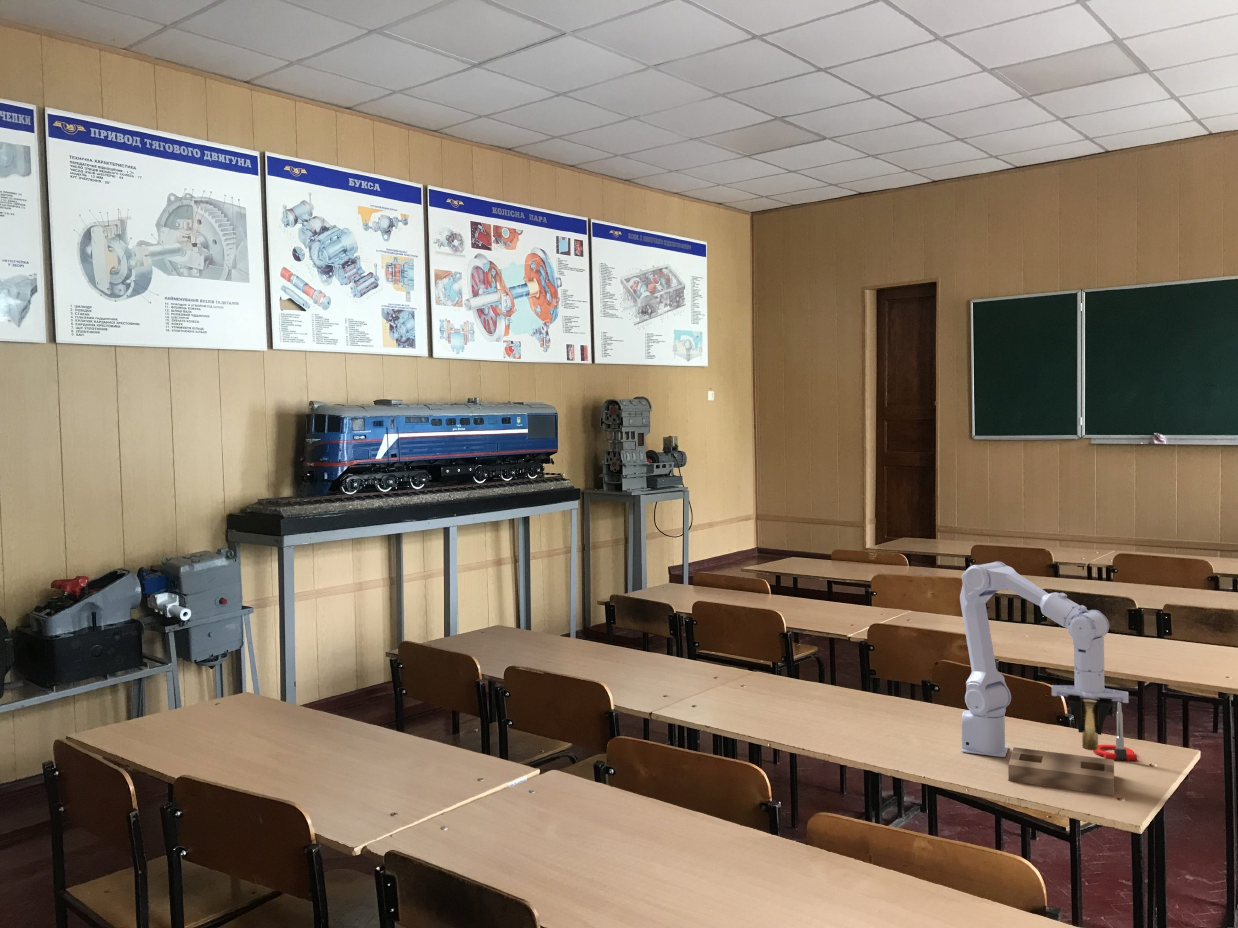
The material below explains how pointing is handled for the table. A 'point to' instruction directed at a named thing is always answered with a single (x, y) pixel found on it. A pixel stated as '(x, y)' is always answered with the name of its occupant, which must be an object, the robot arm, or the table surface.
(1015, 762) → the hole block
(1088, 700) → the brass pin
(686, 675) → the table surface
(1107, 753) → the tow hook
